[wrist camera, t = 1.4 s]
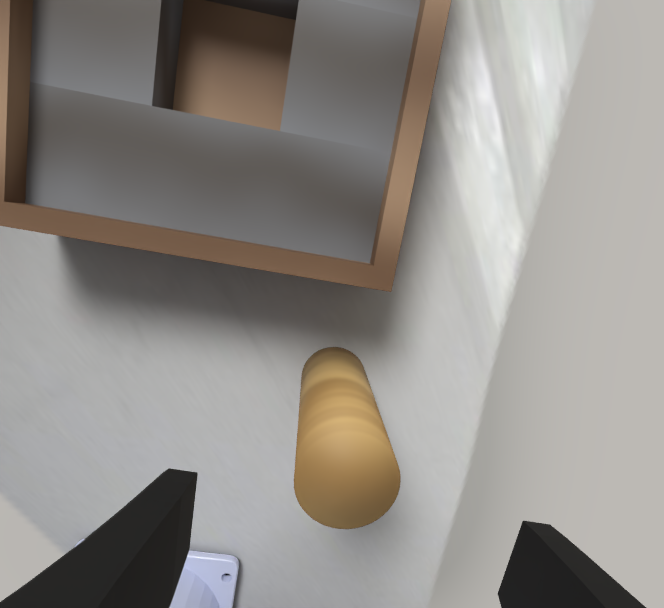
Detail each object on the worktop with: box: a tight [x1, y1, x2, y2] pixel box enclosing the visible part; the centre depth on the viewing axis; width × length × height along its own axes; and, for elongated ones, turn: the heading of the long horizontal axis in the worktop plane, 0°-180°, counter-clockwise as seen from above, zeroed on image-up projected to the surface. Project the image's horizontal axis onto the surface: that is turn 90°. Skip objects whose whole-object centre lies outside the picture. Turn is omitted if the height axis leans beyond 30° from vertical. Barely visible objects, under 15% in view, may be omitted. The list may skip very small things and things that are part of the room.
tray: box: [0, 0, 451, 292], centre depth 15 cm, size 14×14×4 cm
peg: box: [294, 347, 400, 529], centre depth 15 cm, size 3×3×8 cm
